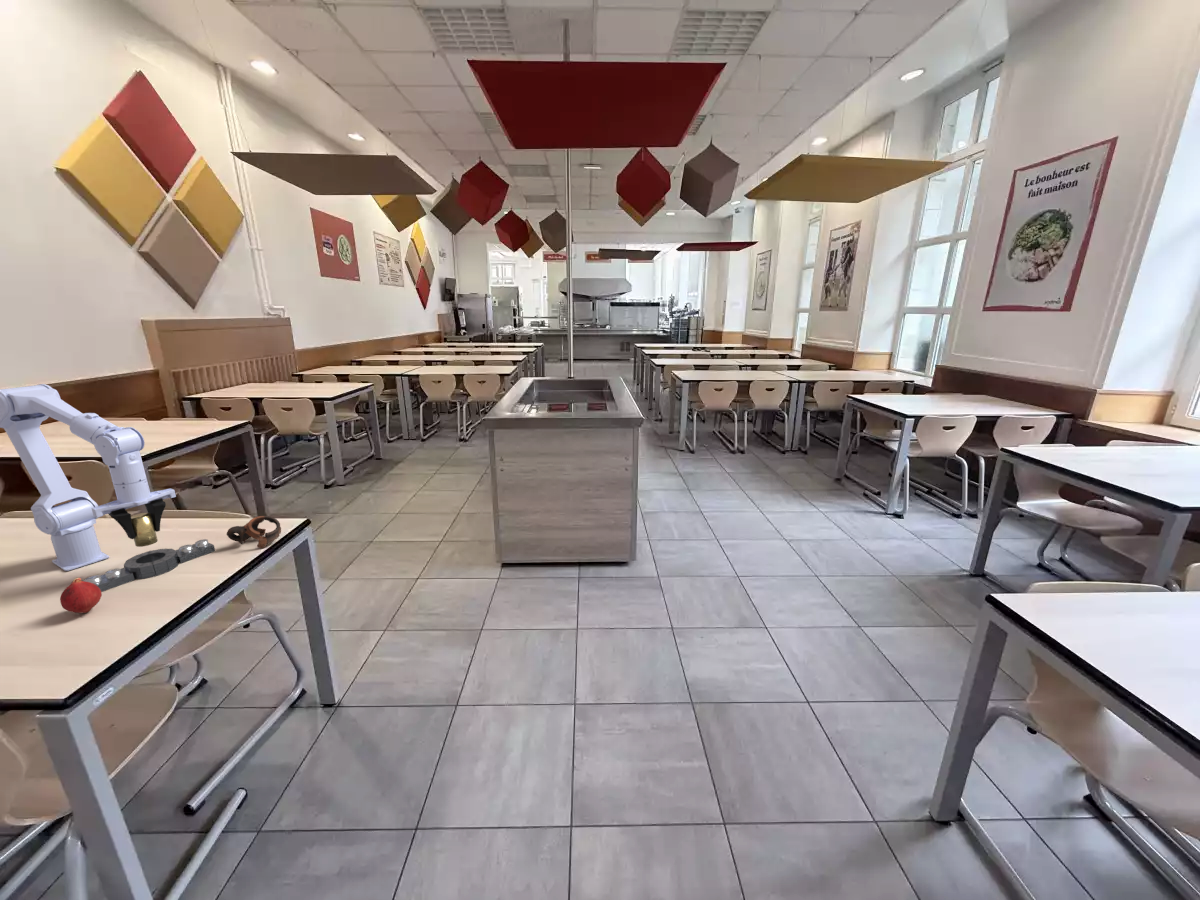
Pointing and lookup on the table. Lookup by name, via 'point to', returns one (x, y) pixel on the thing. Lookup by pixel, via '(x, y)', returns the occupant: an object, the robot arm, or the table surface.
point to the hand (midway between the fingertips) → (144, 534)
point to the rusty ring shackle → (255, 531)
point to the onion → (80, 596)
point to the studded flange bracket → (150, 564)
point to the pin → (143, 529)
